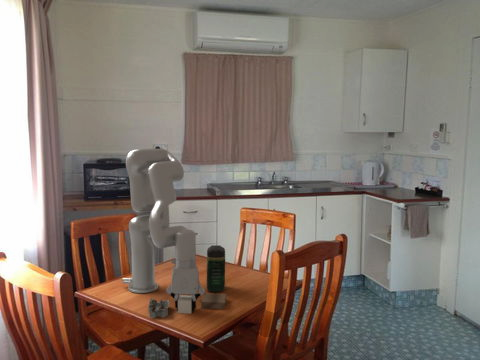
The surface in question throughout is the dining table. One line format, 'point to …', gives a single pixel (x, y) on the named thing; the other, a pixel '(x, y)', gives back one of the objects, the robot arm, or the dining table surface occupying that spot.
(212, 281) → the coffee jar
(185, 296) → the cube
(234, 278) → the dining table surface
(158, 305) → the egg carton
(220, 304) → the base
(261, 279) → the dining table surface
